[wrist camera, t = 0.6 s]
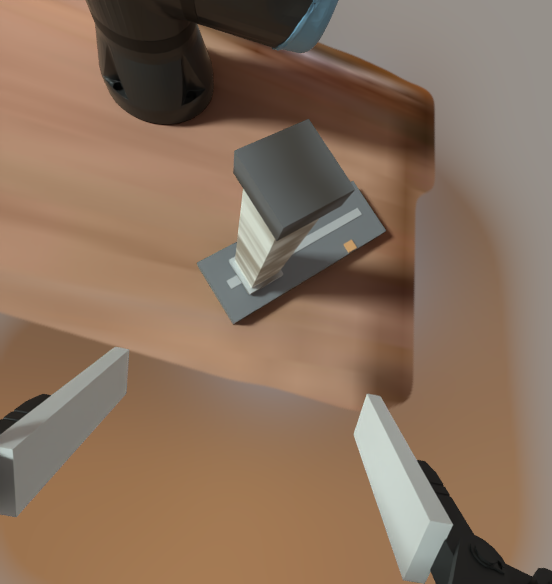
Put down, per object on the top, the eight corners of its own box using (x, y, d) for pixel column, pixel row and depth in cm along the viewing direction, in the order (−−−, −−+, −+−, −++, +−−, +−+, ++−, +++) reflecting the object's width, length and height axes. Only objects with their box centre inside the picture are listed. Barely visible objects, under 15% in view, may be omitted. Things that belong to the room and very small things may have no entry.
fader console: (233, 324, 36) (233, 323, 34) (198, 267, 37) (196, 262, 35) (378, 235, 43) (387, 230, 40) (347, 188, 43) (353, 179, 41)
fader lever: (249, 295, 35) (283, 228, 15) (229, 262, 35) (234, 150, 15) (281, 276, 36) (355, 189, 16) (261, 244, 37) (308, 118, 16)
